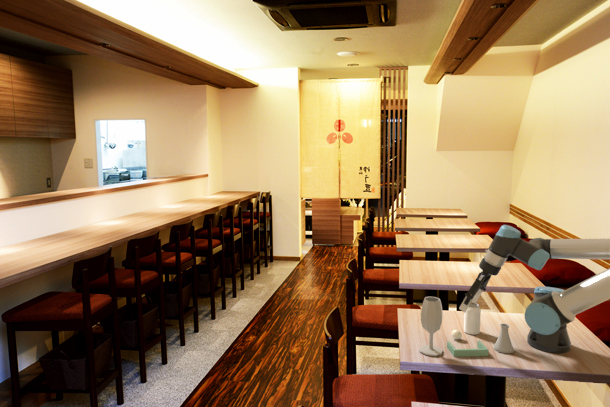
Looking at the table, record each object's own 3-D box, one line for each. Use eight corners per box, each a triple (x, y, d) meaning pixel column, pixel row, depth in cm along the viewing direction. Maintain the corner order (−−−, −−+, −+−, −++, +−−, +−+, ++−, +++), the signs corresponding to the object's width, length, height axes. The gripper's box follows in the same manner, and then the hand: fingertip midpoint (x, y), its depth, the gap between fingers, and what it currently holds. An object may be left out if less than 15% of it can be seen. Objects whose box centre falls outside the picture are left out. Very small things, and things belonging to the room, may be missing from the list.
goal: (446, 347, 175) (446, 341, 174) (479, 346, 175) (479, 340, 175) (453, 356, 167) (454, 350, 166) (488, 356, 167) (488, 349, 167)
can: (480, 336, 185) (480, 308, 184) (463, 334, 187) (464, 306, 186) (479, 330, 191) (480, 303, 190) (463, 328, 193) (464, 301, 192)
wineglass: (415, 352, 171) (416, 299, 168) (425, 345, 177) (426, 293, 175) (436, 359, 165) (438, 304, 163) (446, 351, 172) (447, 298, 169)
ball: (462, 338, 183) (463, 329, 182) (460, 342, 180) (460, 332, 179) (452, 336, 185) (453, 327, 185) (450, 339, 182) (450, 330, 181)
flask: (510, 346, 175) (511, 321, 174) (516, 354, 168) (518, 328, 167) (491, 345, 176) (492, 321, 175) (497, 353, 169) (498, 328, 168)
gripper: (491, 252, 185) (468, 293, 192) (474, 262, 165) (448, 308, 172) (509, 261, 181) (484, 303, 188) (493, 273, 161) (466, 320, 168)
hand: (467, 306), depth 180 cm, fingers open, 13 cm apart
